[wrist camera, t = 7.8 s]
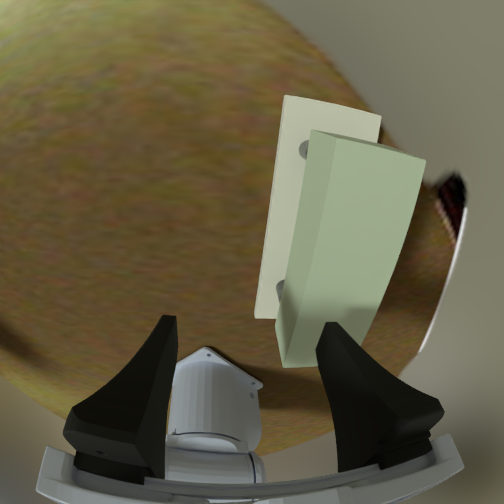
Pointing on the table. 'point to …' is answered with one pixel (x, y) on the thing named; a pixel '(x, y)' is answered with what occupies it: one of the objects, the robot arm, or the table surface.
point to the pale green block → (344, 239)
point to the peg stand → (298, 183)
